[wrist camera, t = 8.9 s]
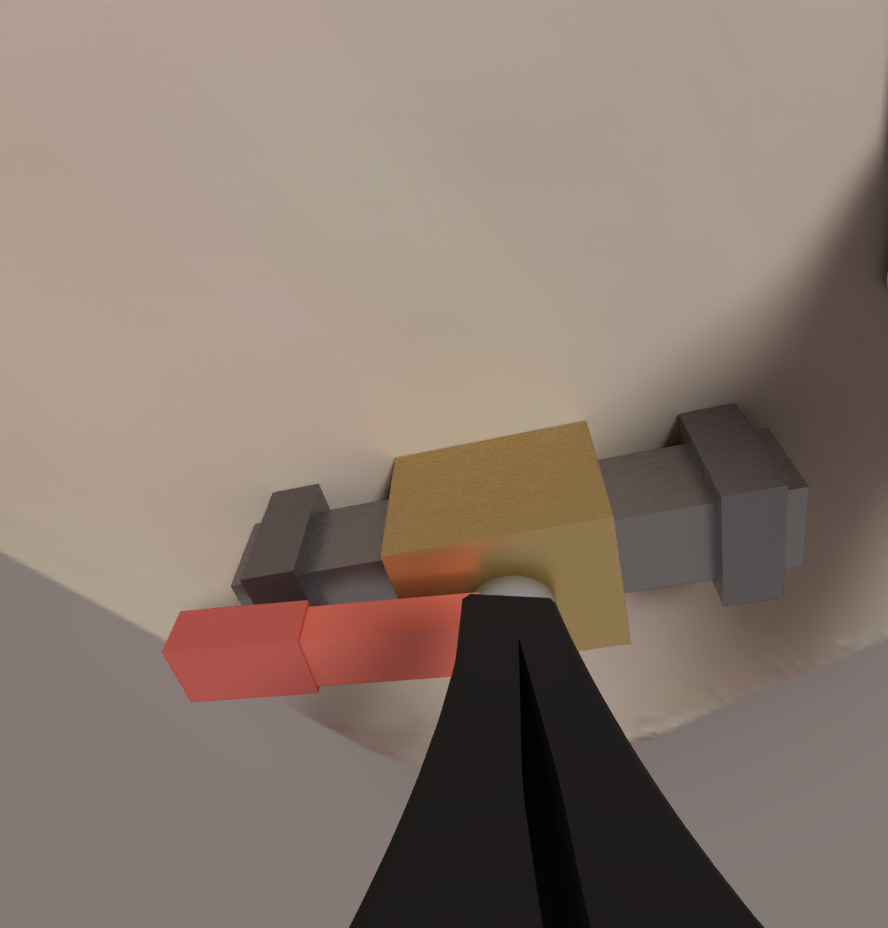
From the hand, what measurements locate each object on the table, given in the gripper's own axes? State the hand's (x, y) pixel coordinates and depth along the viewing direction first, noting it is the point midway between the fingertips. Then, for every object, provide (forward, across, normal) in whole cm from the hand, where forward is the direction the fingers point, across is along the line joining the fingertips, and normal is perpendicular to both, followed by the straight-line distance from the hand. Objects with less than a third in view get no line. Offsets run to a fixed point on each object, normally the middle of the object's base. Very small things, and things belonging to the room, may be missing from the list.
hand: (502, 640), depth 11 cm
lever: (+6, +3, +6) cm, 9 cm away
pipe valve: (+10, -1, +5) cm, 12 cm away
